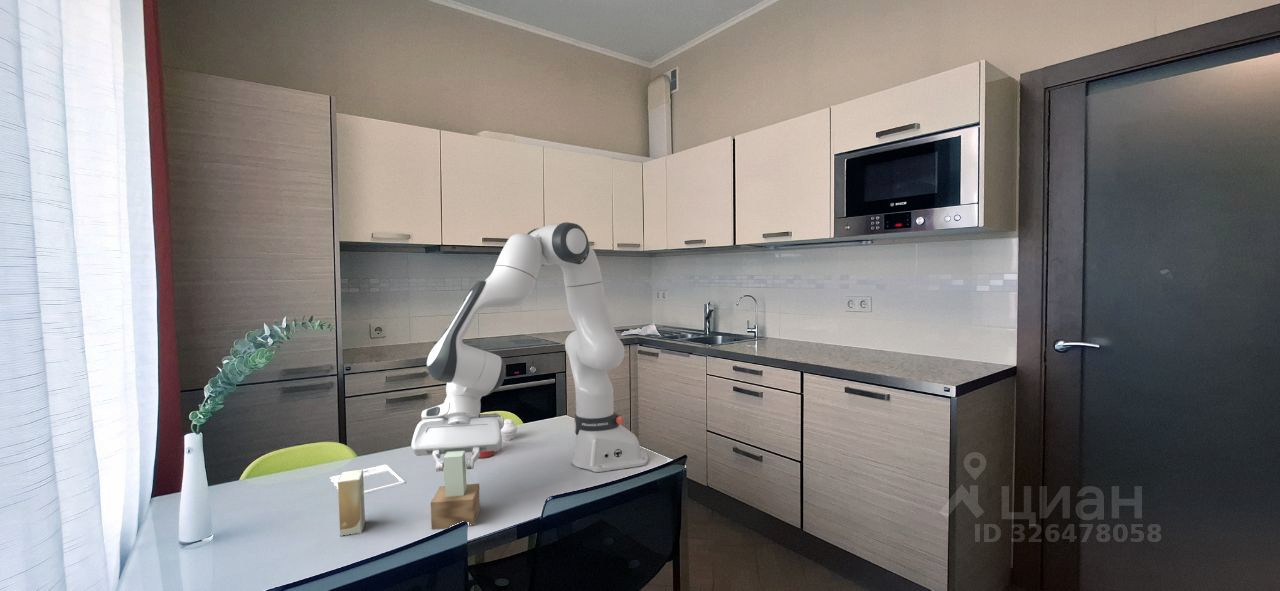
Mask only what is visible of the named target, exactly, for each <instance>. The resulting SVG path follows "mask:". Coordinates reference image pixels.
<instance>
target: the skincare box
mask: <svg viewBox="0 0 1280 591" xmlns="http://www.w3.org/2000/svg"><path fill="white" fill-rule="evenodd" d="M339 475H340V478H339V480H338V490H337V492H338V493H337V494H338V518H339V536H340V537H344V536H343V535H345V536H350V535H349V534H351V535H356V534H355V533H357V534H361V533H360V532H362V533H363V531H364V527H365V524H366V515H365V514H366V510H365V494H364V491H365V484H364V477H363V469H358V470H357V469H355V470H348V471H342V472H341V474H339ZM362 530H363V531H362Z"/></svg>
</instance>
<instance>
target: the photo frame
mask: <svg viewBox="0 0 1280 591" xmlns="http://www.w3.org/2000/svg"><path fill="white" fill-rule="evenodd" d="M362 470H363V478H366V477H365V476H367V477H370V475H372V476H375V475H374V474H376V475H379V473H380V474H383V473H388V472H389V473H390V474H391V475H392V476H393V475H394V476H395V477H396V478H397V479H398V480H397V481H398V482H395V483H390V484H386V485H383V486H378V487H375V488H369V489H368V490H364V495H366V494H365V493H367V494H369V493H368V492H370V493H373V492H372V491H374V492H377V490H378V491H381V489H382V490H385V488H386V489H389V487H390V488H394V487H397V485H398V486H400V484H401V485H404V483H406V482H405V480H404V479H403V478H402V477H401V476H400V475H398V474H397V473H396V472H395V471H394V470H393V469H392V468H391V467H390V466H389V465H388V464H382V465H377V466H374V467H368V468H363V469H362ZM340 475H341V474H338V475H333V476H330V477H329V480H330V479H331V480H330V482H331V483H332V482H333V483H334V484H333V483H332V484H333V485H334V487H335V486H336V487H337V488H336V487H335V488H336V489H338V480H339V478H340ZM394 476H393V477H394ZM395 477H394V478H395ZM396 478H395V479H396ZM393 486H394V487H393Z"/></svg>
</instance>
